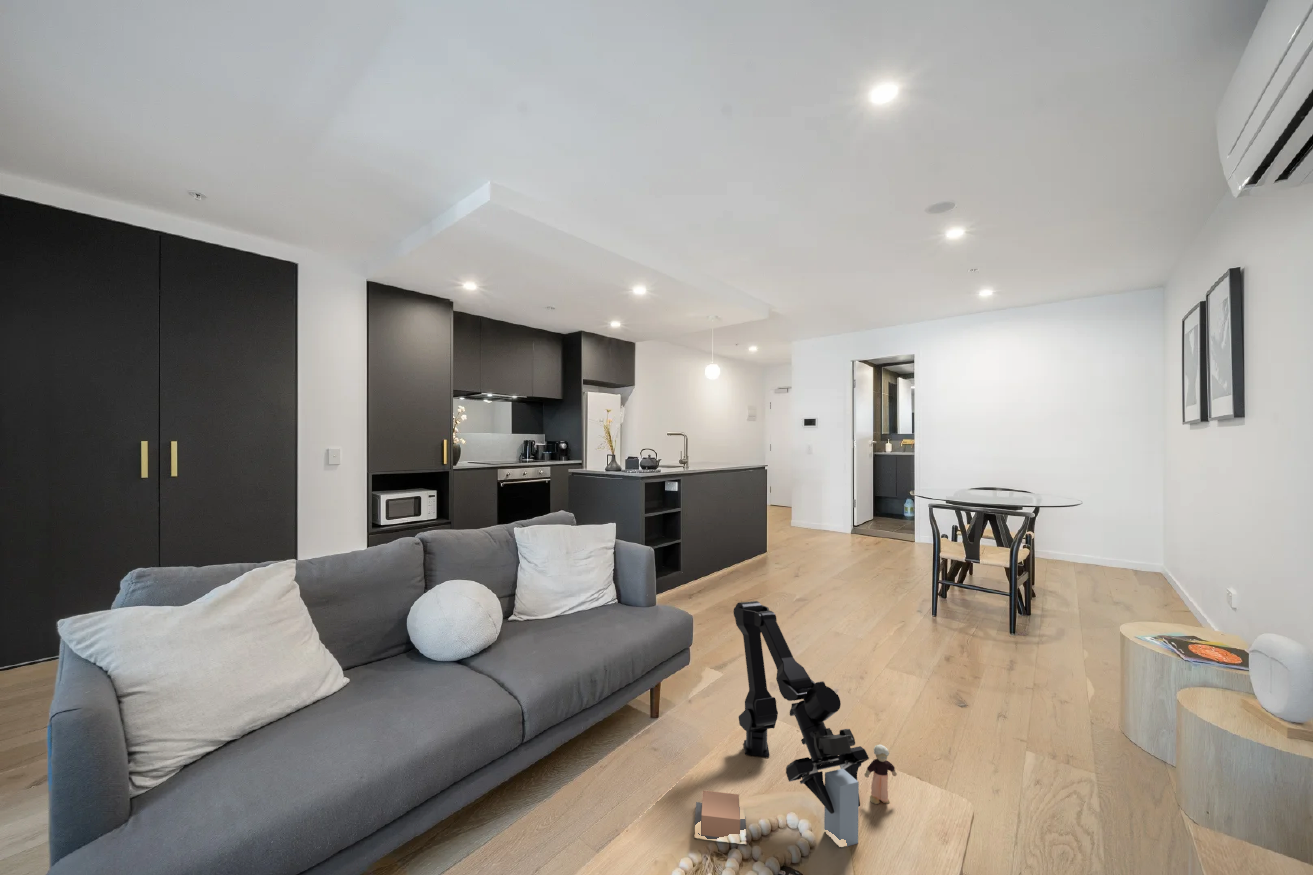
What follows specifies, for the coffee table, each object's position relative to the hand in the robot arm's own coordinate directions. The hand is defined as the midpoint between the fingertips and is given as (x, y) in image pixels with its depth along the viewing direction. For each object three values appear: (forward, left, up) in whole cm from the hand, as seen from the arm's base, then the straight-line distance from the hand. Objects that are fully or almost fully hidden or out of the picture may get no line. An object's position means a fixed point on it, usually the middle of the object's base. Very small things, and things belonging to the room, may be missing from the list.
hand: (845, 809), depth 105 cm
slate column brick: (-1, -1, -7) cm, 7 cm away
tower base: (0, -26, -7) cm, 27 cm away
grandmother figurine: (-15, +12, -7) cm, 20 cm away
